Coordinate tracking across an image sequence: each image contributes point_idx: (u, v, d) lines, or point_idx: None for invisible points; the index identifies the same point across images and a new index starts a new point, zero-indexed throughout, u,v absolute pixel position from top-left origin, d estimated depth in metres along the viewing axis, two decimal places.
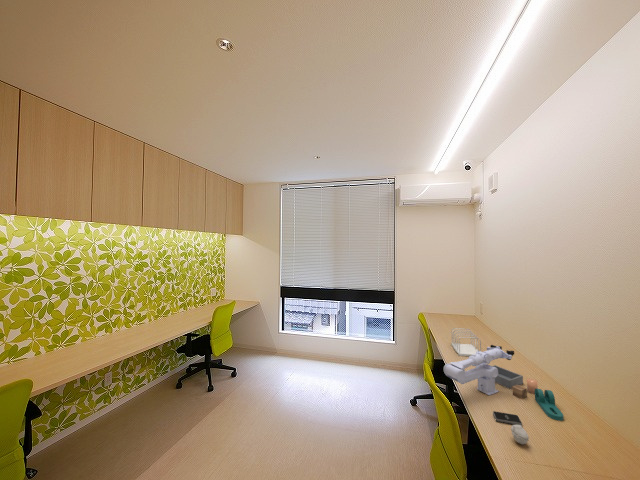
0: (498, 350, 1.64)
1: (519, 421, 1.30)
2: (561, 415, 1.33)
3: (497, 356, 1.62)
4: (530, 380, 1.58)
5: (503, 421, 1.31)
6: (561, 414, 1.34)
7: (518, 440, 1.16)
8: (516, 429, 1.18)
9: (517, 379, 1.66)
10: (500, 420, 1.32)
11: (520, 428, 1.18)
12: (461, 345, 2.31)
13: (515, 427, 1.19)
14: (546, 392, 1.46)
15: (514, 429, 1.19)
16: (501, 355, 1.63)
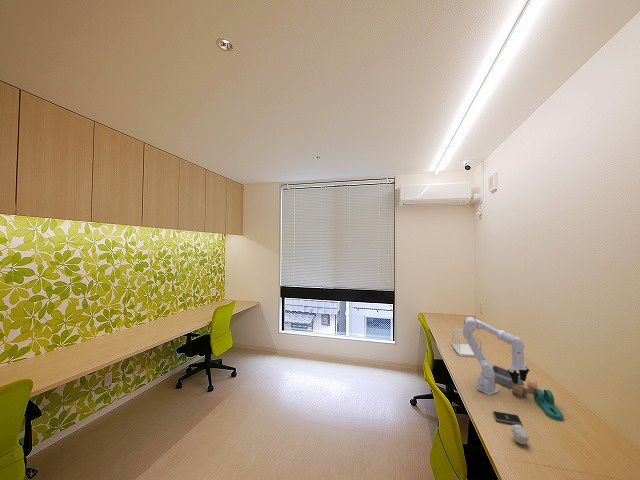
0: (521, 365, 1.52)
1: (519, 421, 1.30)
2: (561, 415, 1.33)
3: (514, 359, 1.54)
4: (530, 380, 1.58)
5: (503, 421, 1.31)
6: (561, 414, 1.34)
7: (518, 440, 1.16)
8: (516, 429, 1.18)
9: None
10: (500, 420, 1.32)
11: (520, 428, 1.18)
12: (461, 345, 2.31)
13: (515, 427, 1.19)
14: (545, 392, 1.46)
15: (514, 429, 1.19)
16: (514, 365, 1.54)
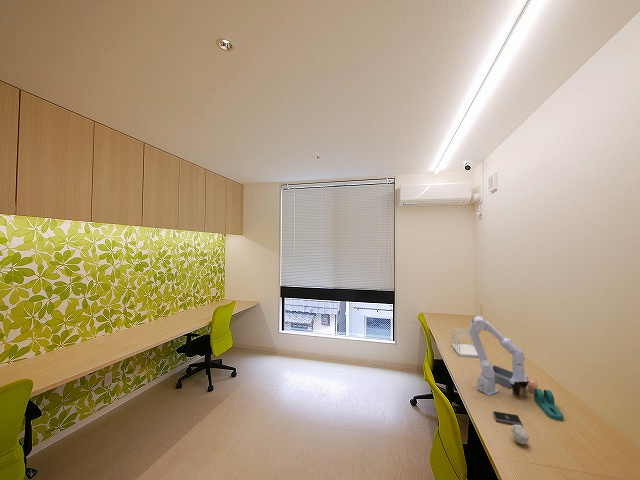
0: (521, 377, 1.52)
1: (519, 421, 1.30)
2: (561, 415, 1.33)
3: (515, 370, 1.54)
4: (530, 380, 1.58)
5: (503, 421, 1.31)
6: (561, 414, 1.34)
7: (518, 440, 1.16)
8: (516, 429, 1.18)
9: None
10: (500, 420, 1.32)
11: (520, 428, 1.18)
12: (461, 345, 2.31)
13: (515, 427, 1.19)
14: (545, 392, 1.46)
15: (514, 429, 1.19)
16: (515, 376, 1.54)
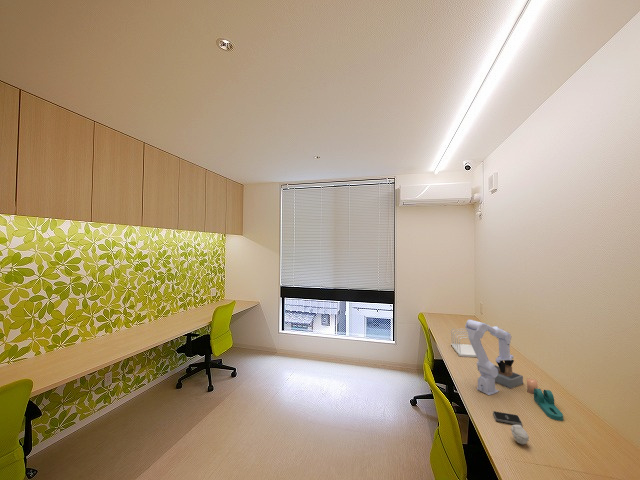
0: (506, 356, 1.65)
1: (519, 421, 1.30)
2: (561, 415, 1.33)
3: (501, 350, 1.67)
4: (530, 380, 1.58)
5: (503, 421, 1.31)
6: (561, 414, 1.34)
7: (518, 440, 1.16)
8: (516, 429, 1.18)
9: (517, 379, 1.66)
10: (500, 420, 1.32)
11: (520, 428, 1.18)
12: (461, 345, 2.30)
13: (515, 427, 1.19)
14: (545, 392, 1.46)
15: (514, 429, 1.19)
16: (501, 356, 1.67)
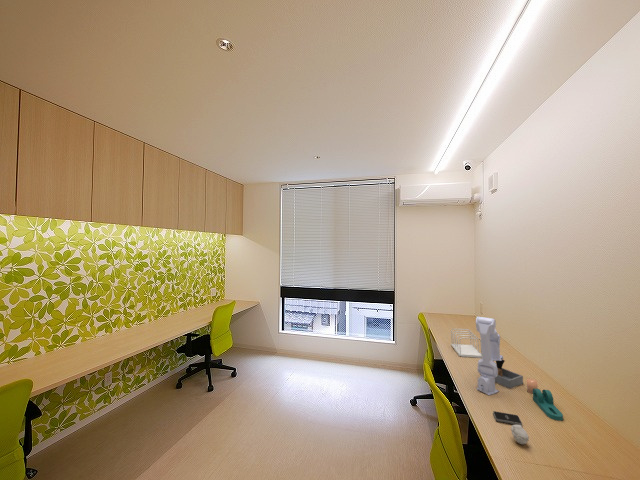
0: (497, 357, 1.75)
1: (519, 421, 1.30)
2: (561, 415, 1.33)
3: (491, 351, 1.77)
4: (530, 380, 1.58)
5: (503, 421, 1.31)
6: (560, 414, 1.34)
7: (518, 440, 1.16)
8: (516, 429, 1.18)
9: (517, 379, 1.66)
10: (500, 420, 1.32)
11: (520, 428, 1.18)
12: (461, 346, 2.30)
13: (515, 427, 1.19)
14: (544, 392, 1.47)
15: (514, 429, 1.19)
16: (491, 356, 1.77)
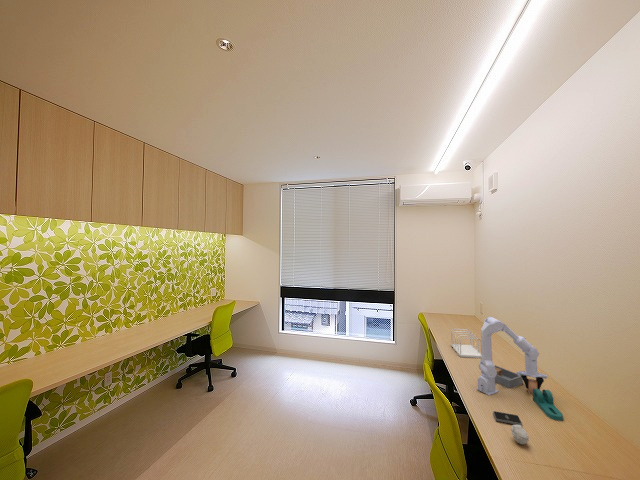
0: (530, 372, 1.57)
1: (519, 421, 1.30)
2: (561, 415, 1.33)
3: (525, 365, 1.60)
4: (530, 380, 1.58)
5: (503, 421, 1.31)
6: (560, 414, 1.34)
7: (518, 440, 1.16)
8: (516, 429, 1.18)
9: (517, 379, 1.66)
10: (500, 420, 1.32)
11: (520, 428, 1.18)
12: (461, 346, 2.29)
13: (515, 427, 1.19)
14: (544, 392, 1.47)
15: (514, 429, 1.19)
16: (525, 371, 1.60)
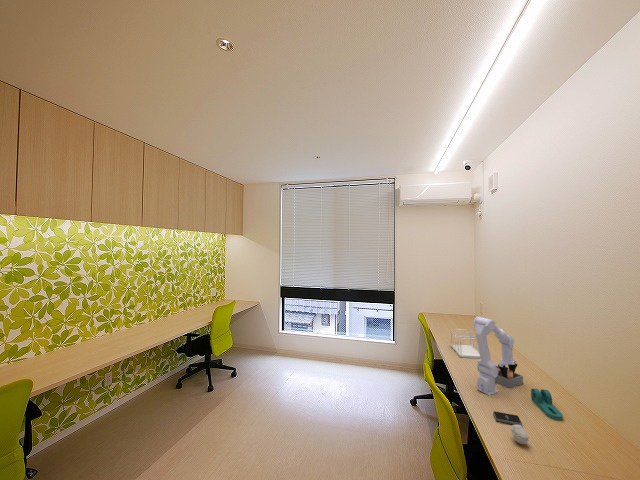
0: (510, 360, 1.67)
1: (519, 421, 1.30)
2: (560, 415, 1.33)
3: (504, 354, 1.69)
4: (507, 371, 1.69)
5: (503, 421, 1.31)
6: (560, 414, 1.34)
7: (518, 440, 1.16)
8: (516, 429, 1.18)
9: (517, 379, 1.66)
10: (500, 420, 1.32)
11: (520, 428, 1.18)
12: (461, 346, 2.28)
13: (515, 427, 1.19)
14: (543, 392, 1.47)
15: (514, 429, 1.19)
16: (504, 360, 1.69)
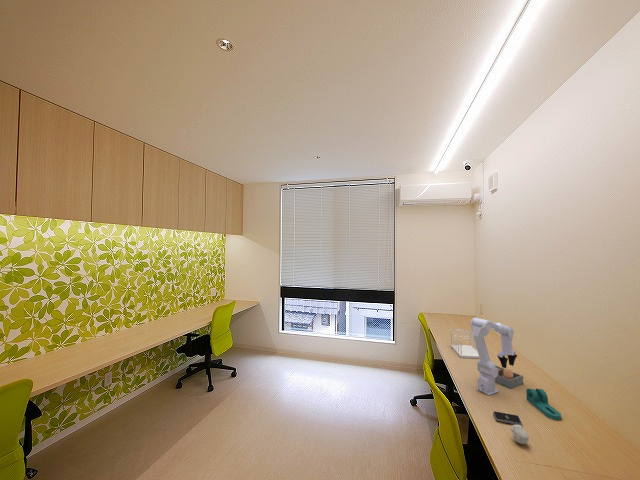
0: (509, 351, 1.68)
1: (519, 421, 1.30)
2: (559, 414, 1.34)
3: (503, 345, 1.70)
4: (507, 371, 1.69)
5: (503, 421, 1.31)
6: (559, 413, 1.35)
7: (518, 440, 1.16)
8: (516, 429, 1.18)
9: (517, 379, 1.66)
10: (500, 420, 1.32)
11: (520, 428, 1.18)
12: (461, 346, 2.28)
13: (515, 427, 1.19)
14: (538, 391, 1.47)
15: (514, 429, 1.19)
16: (503, 351, 1.70)
